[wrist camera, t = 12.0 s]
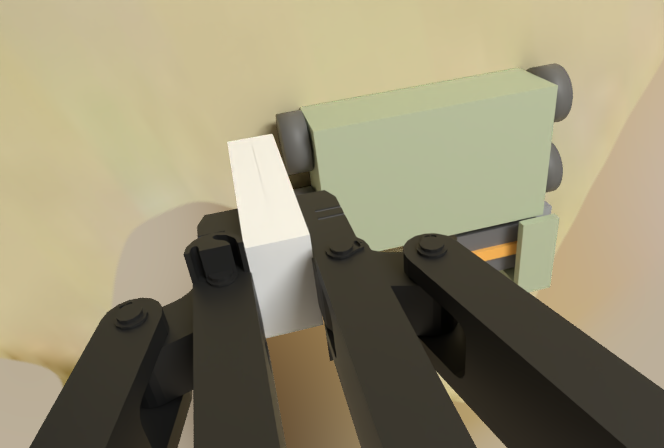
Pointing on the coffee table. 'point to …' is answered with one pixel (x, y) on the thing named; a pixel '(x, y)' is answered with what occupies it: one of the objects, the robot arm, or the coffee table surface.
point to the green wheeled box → (441, 160)
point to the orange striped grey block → (493, 243)
